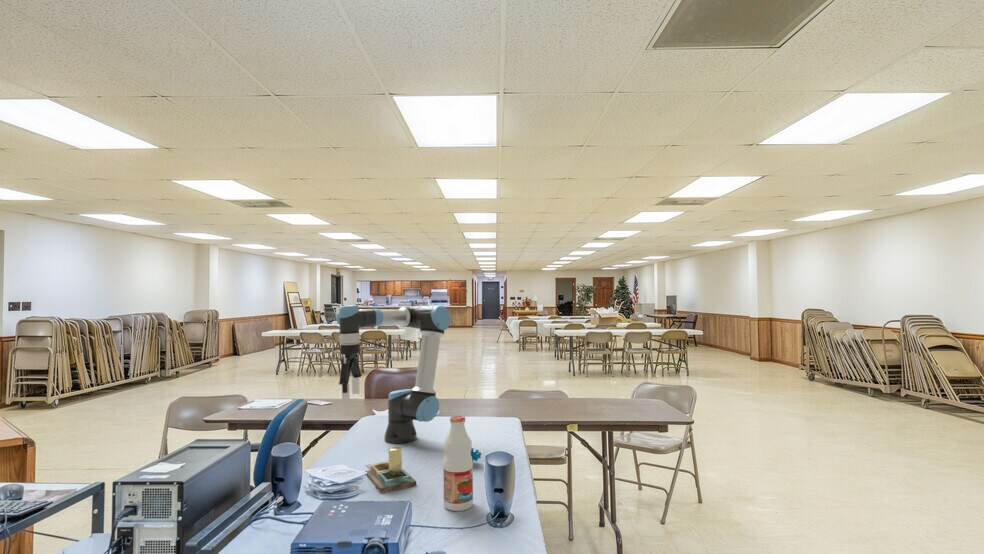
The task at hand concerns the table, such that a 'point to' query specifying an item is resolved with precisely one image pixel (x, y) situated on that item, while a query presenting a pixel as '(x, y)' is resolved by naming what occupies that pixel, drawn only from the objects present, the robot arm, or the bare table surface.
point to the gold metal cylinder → (395, 463)
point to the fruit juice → (458, 467)
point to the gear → (475, 455)
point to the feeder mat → (372, 464)
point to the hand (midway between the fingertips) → (351, 397)
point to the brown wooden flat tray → (380, 478)
